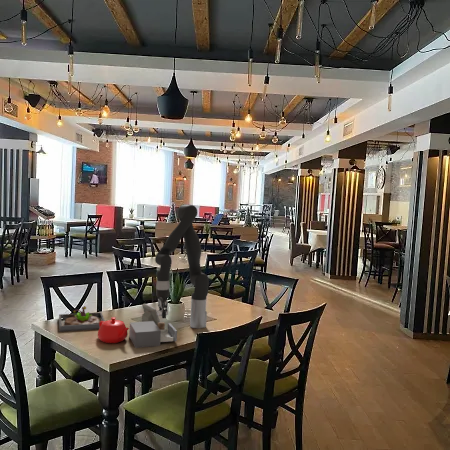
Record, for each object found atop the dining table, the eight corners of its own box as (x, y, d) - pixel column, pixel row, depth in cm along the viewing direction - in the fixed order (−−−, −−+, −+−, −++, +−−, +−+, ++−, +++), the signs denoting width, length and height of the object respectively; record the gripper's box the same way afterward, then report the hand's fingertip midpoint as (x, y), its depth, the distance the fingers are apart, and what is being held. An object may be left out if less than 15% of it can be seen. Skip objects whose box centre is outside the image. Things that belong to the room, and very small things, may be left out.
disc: (166, 312, 246) (166, 309, 246) (169, 315, 240) (169, 311, 240) (155, 313, 244) (155, 309, 244) (158, 316, 238) (158, 312, 238)
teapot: (87, 338, 225) (87, 315, 224) (111, 332, 237) (112, 310, 237) (115, 350, 210) (116, 326, 209) (140, 342, 222) (141, 320, 221)
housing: (152, 335, 236) (153, 321, 235) (160, 345, 219) (160, 330, 219) (129, 336, 231) (129, 322, 230) (135, 347, 214) (135, 332, 214)
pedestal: (163, 330, 245) (163, 321, 245) (165, 332, 241) (165, 323, 241) (156, 330, 244) (157, 322, 243) (158, 332, 240) (158, 324, 240)
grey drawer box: (169, 332, 238) (170, 322, 237) (177, 341, 224) (177, 330, 224) (147, 334, 233) (147, 324, 232) (153, 343, 219) (153, 332, 219)
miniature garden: (69, 330, 237) (70, 311, 236) (61, 321, 253) (62, 303, 253) (104, 326, 248) (105, 307, 248) (94, 317, 264) (95, 300, 264)
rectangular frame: (101, 316, 266) (101, 312, 266) (105, 328, 243) (106, 323, 243) (59, 319, 256) (59, 314, 256) (59, 331, 233) (59, 326, 233)
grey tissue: (160, 326, 254) (161, 308, 253) (146, 327, 250) (146, 309, 249) (153, 318, 268) (154, 302, 268) (139, 319, 265) (140, 303, 264)
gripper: (172, 290, 236) (172, 319, 237) (166, 285, 249) (165, 312, 250) (159, 291, 233) (159, 320, 234) (153, 285, 246) (153, 313, 247)
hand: (162, 316), depth 242 cm, fingers closed on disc, 6 cm apart
